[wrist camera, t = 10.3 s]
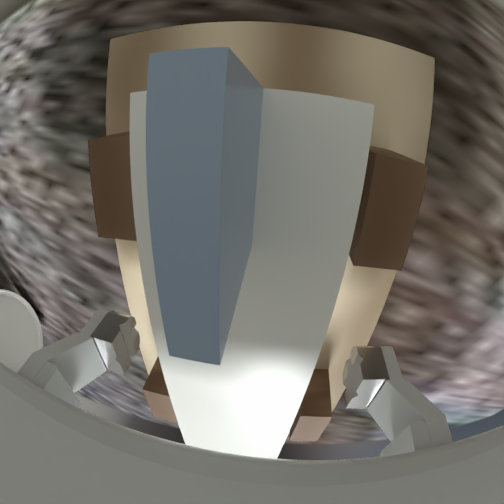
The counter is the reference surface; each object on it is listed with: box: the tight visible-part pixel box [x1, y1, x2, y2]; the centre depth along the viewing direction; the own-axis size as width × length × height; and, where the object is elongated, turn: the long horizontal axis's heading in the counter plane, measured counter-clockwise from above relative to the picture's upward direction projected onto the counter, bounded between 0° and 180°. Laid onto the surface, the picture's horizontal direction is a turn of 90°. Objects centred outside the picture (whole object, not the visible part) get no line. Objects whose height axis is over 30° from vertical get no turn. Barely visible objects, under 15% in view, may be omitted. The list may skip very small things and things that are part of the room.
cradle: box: [88, 21, 435, 441], centre depth 11 cm, size 12×22×4 cm, turn 176°
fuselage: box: [130, 47, 375, 459], centre depth 9 cm, size 4×18×8 cm, turn 176°
